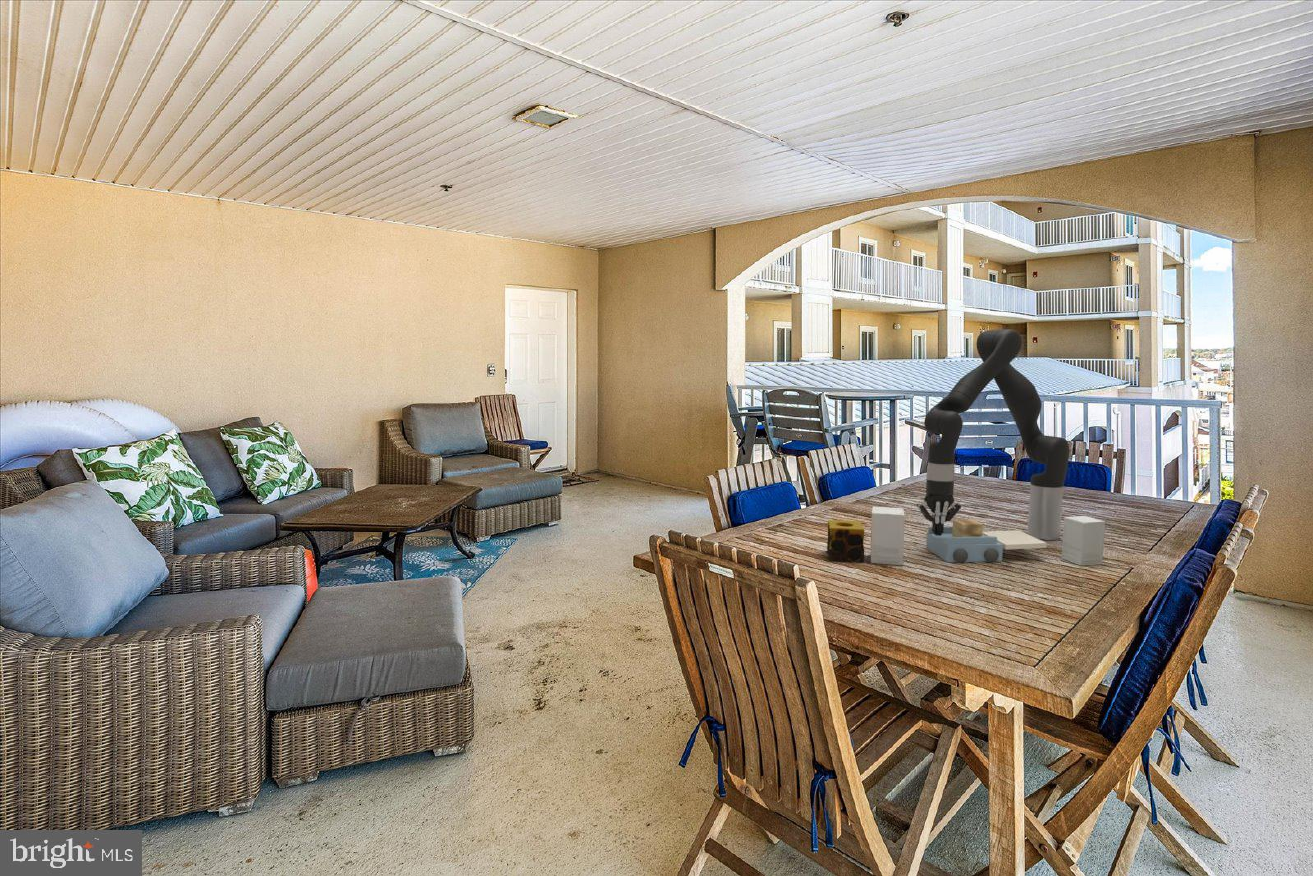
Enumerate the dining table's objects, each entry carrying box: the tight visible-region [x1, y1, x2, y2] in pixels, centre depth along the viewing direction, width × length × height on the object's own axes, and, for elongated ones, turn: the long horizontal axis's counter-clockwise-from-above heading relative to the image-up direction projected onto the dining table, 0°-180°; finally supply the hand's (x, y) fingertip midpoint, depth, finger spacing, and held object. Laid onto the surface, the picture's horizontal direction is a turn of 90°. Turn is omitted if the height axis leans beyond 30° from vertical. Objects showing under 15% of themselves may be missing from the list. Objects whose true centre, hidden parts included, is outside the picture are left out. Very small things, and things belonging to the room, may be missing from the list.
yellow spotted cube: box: [826, 519, 865, 563], centre depth 194 cm, size 10×10×10 cm
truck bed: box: [925, 525, 1004, 564], centre depth 196 cm, size 16×16×7 cm
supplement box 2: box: [1061, 515, 1106, 567], centre depth 189 cm, size 7×7×13 cm
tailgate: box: [982, 529, 1048, 550], centre depth 197 cm, size 1×14×12 cm
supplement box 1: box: [870, 506, 906, 566], centre depth 191 cm, size 9×9×15 cm
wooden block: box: [952, 518, 984, 537], centre depth 196 cm, size 6×6×5 cm
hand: (937, 534), depth 195 cm, fingers closed
